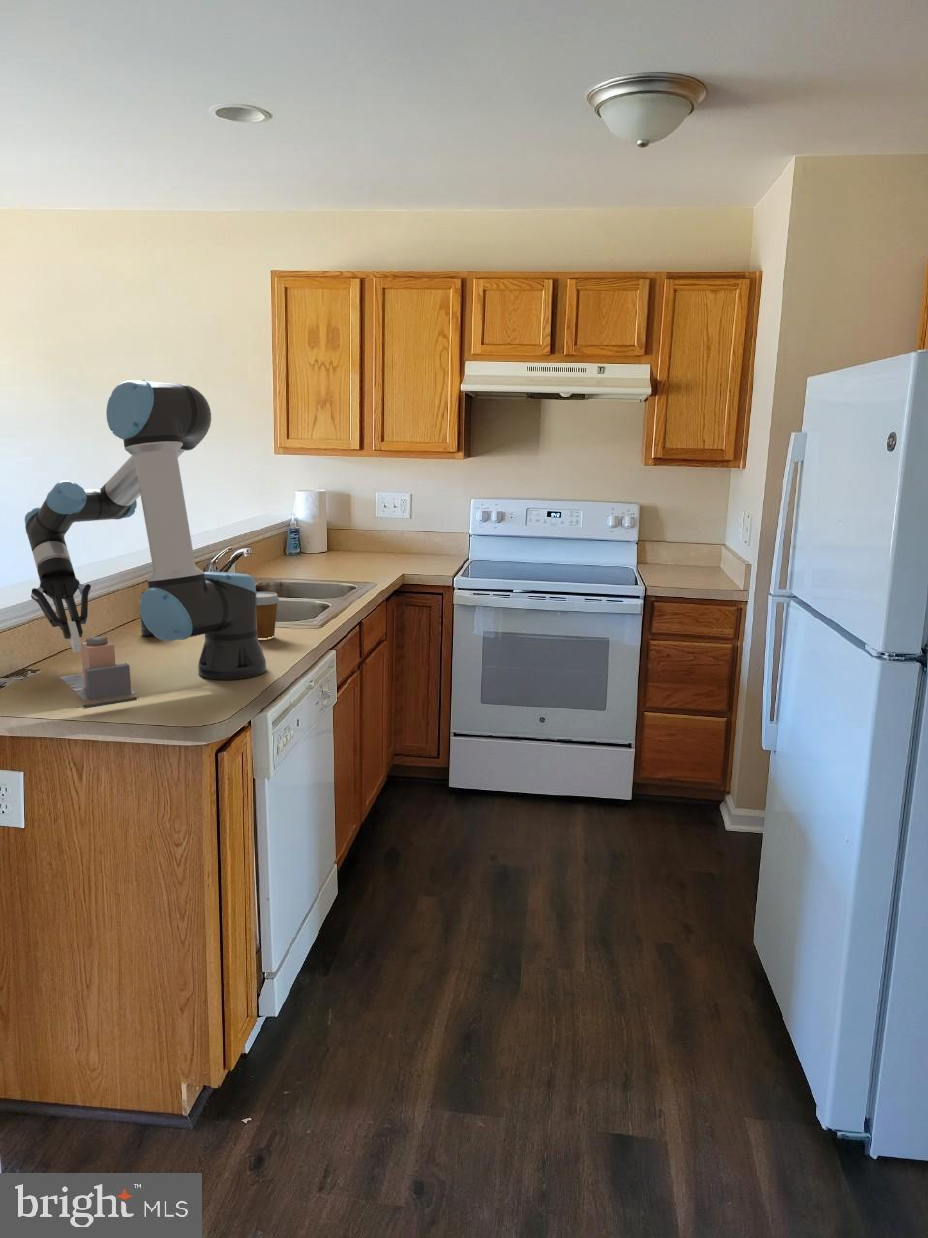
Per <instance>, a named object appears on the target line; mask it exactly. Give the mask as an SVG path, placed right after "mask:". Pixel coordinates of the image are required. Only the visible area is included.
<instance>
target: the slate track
mask: <svg viewBox="0 0 928 1238" xmlns="http://www.w3.org/2000/svg"><path fill="white" fill-rule="evenodd" d="M130 669H131V668H130V665H129V664H128V663H126V662H125V663H118V664H115V665H110V666H102V667H95V668H88V669H85V675H86V686H85V685H84V678H83V673H76V674H69V675H64V676H59V678H60V679H61V680H62V681H63V682H64V683H65V684H66V685H67V686H68V687H69V688H70V689H71V690H72V691H73V692H74V693H75V694H76V695H77V696H79V698H80V699H82V701H84V702H88V701H89V702H90V701H97V700H102V699H103V700H104V699H109V698H110V699H111V698H115V697H122V696H128V695H135V694H137V692H136V691H134V689H132V686H131V684H132V683H131V682H132V681H131V670H130ZM137 700H138V697H137V696H134V697H133V696H132V697H128V698H123V699H116V700H109V701H102V702H97V703H90V704H89V703H88V704H84V705H82V707H83V708H84V709H90V708H96V707H103V706H109V705H116V704H122V703H129V702H133V701H134V702H135V701H137Z"/></svg>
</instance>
